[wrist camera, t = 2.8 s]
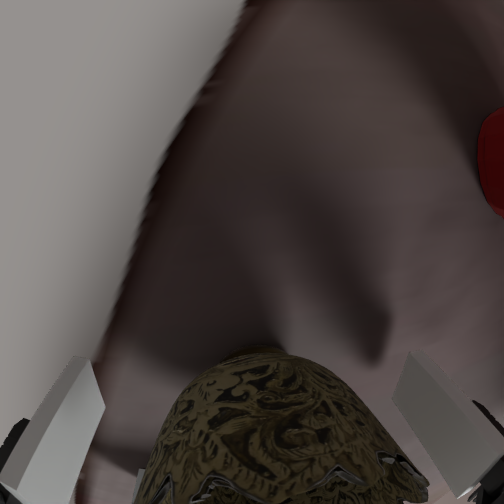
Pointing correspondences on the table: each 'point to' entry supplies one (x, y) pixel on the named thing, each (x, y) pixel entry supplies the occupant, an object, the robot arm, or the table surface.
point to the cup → (275, 440)
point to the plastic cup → (492, 160)
